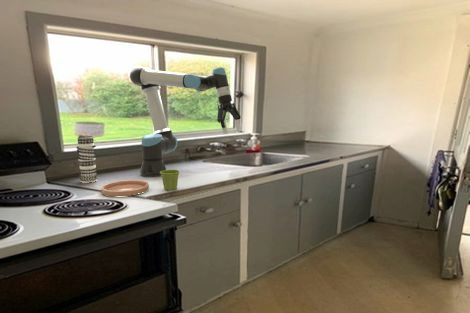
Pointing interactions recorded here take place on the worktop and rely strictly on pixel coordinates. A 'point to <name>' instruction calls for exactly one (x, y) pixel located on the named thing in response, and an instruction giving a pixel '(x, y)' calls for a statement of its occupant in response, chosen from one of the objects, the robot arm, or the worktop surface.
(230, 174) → the worktop surface
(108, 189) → the saucer
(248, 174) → the worktop surface
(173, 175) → the plant pot
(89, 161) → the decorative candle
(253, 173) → the worktop surface
